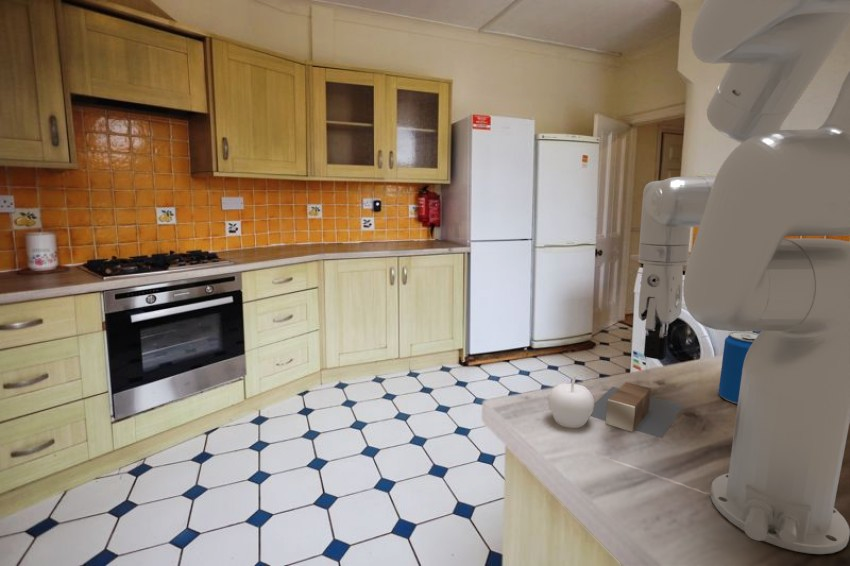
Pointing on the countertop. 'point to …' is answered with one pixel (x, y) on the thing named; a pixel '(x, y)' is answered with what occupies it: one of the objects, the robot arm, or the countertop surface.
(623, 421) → the block
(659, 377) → the countertop surface
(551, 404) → the plain white apple
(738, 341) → the beverage can
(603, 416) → the mat
